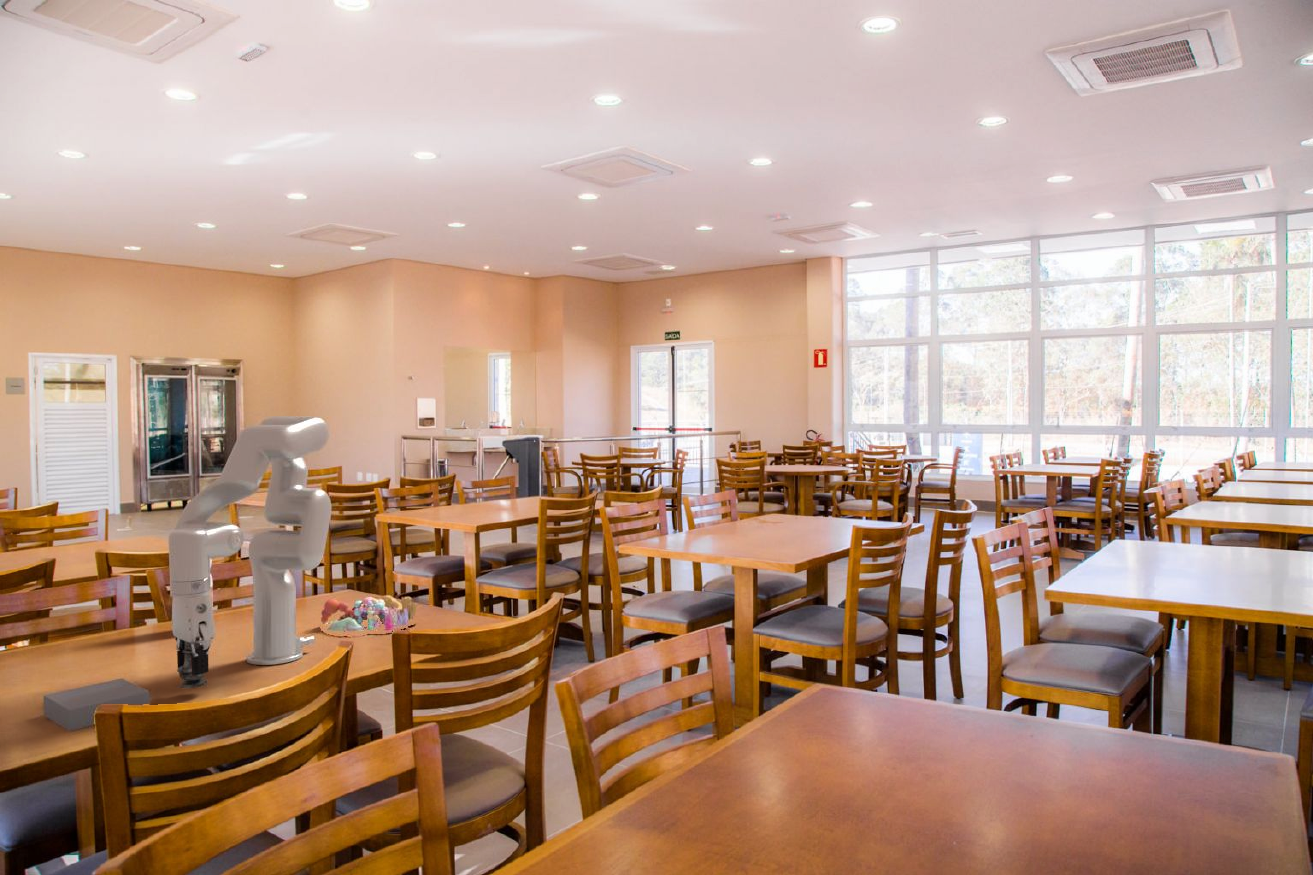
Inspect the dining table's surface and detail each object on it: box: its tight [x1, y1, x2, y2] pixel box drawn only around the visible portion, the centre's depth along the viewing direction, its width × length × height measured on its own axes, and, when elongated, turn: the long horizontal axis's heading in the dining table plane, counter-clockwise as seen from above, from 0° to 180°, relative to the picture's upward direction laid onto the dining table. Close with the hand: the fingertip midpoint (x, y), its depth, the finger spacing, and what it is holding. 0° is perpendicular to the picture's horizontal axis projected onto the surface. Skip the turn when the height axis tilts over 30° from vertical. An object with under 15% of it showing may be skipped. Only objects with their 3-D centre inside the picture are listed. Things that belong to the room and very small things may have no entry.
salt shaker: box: [176, 638, 209, 689], centre depth 180 cm, size 6×6×12 cm
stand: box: [43, 678, 151, 732], centre depth 169 cm, size 14×14×4 cm
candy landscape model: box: [320, 594, 418, 632], centre depth 241 cm, size 25×24×9 cm
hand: (193, 669), depth 180 cm, fingers closed on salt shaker, 5 cm apart
